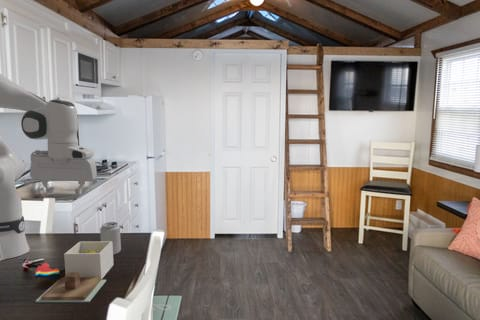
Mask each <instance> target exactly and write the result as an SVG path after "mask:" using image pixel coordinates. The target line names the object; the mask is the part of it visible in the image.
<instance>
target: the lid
mask: <svg viewBox="0 0 480 320" xmlns="http://www.w3.org/2000/svg"><path fill="white" fill-rule="evenodd" d="M58 280H59V281H58ZM58 280H57V281H58V282H57V281H56V282H57V283H56V282H55V283H56V284H54V283H53V284H54V285H53V284H52V285H53V286H52V285H51V286H52V287H51V286H50V287H51V288H50V287H49V288H50V289H49V288H48V289H49V290H48V289H47V290H48V291H47V290H46V291H47V292H46V291H45V292H46V293H45V292H44V293H45V294H44V293H43V294H44V295H43V294H42V295H43V296H42V297H41V300H85V299H86V298H87V297H88V295H89V294H90V293H91V292H92V291H93V289H94V288H95V287H96V286H97V285H98V283H99V282H100V281H101V280H102V279H101V277H80V276H79V272H69V273H68V274H67V275H66V274H65V276H63V277H61V278H60V279H58Z"/></svg>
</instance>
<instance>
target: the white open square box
mask: <svg viewBox="0 0 480 320" xmlns="http://www.w3.org/2000/svg"><path fill="white" fill-rule="evenodd" d="M89 250H91V251H94V252H95V253H86V252H87V251H89ZM63 256H64V269H65V270H64V271H65V272H64V273H65V276H66V275H67V274H68V273H69V272H79V276H80V277H101V280H103V278H105V276H106V275H107V274H108V272H109V271H110V270H111V269H112V268H113V266H114V255H113V244H112V241H101V240H100V241H79V242H77V243H76V244H75V245H73V246H72V247H71V248H70V249H69V250H67V251H66V252H65V253H63Z"/></svg>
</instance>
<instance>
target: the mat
mask: <svg viewBox="0 0 480 320" xmlns="http://www.w3.org/2000/svg"><path fill="white" fill-rule="evenodd" d="M59 280H60V279H57V281H56V282H54V283H53V284H52V285H51V286H50V287H49V288H48V289H46V290H45V292H43V293H42V294H41V295H40V296H39V297H38V298H36V300H35V301H34V302H35V303H90V302H91V301H92V299H94V297H95V296H96V295H97V293H98V292H99V290H101V288H102V287H103V286H104V284H105V283H106V282H107V279H101V281H100V282H99V283H98V285H97V286H96V287H95V288H94V289H93V291H92V292H91V293H90V294H89V295H88V297H87V298H86V299H85V300H41V297H42V296H43V295H44V294H45V293H46V292H47V291H48V290H49V289H50V288H51V287H52V286H53V285H54V284H56V283H57V282H58V281H59Z"/></svg>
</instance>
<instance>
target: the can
mask: <svg viewBox="0 0 480 320" xmlns="http://www.w3.org/2000/svg"><path fill="white" fill-rule="evenodd" d="M99 232H100V233H99V235H100V241H112V244H113V256H115V255H117V254H119V253H120V252H121V250H122V243H121V226H120V225H119V223H118V222H115V221H109V222H105V223H102V224H101V227H100V228H99Z"/></svg>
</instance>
